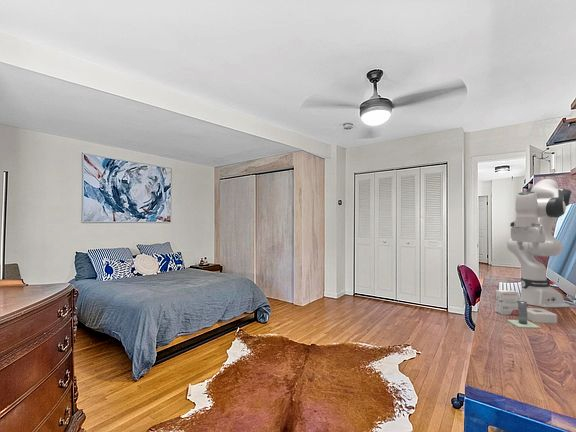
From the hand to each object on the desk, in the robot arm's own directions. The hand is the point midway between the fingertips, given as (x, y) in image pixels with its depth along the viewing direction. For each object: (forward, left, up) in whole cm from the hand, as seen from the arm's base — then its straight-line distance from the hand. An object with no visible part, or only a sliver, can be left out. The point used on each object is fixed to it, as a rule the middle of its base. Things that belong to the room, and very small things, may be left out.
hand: (527, 251), depth 146 cm
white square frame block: (-2, +3, -33) cm, 33 cm away
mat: (+10, +12, -33) cm, 37 cm away
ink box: (+7, -5, -33) cm, 35 cm away
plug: (+10, +12, -32) cm, 36 cm away
